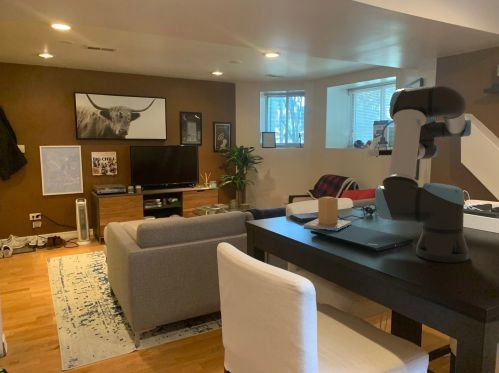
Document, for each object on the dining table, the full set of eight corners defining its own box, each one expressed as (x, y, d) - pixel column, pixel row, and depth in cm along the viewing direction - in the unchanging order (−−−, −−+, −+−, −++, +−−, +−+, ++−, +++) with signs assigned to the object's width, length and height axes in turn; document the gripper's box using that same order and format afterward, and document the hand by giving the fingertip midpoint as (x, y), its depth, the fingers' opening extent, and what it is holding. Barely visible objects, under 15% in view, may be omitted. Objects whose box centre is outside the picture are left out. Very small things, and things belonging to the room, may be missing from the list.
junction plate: (338, 231, 154) (338, 221, 154) (303, 227, 164) (303, 217, 163) (351, 224, 167) (351, 214, 167) (319, 220, 176) (319, 211, 176)
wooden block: (337, 222, 164) (337, 197, 163) (327, 224, 161) (327, 198, 160) (328, 220, 169) (328, 196, 168) (318, 222, 166) (318, 197, 165)
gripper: (436, 160, 159) (404, 163, 149) (389, 159, 181) (358, 161, 170) (437, 143, 158) (404, 144, 148) (389, 144, 180) (358, 145, 170)
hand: (380, 153), depth 159 cm, fingers open, 13 cm apart
